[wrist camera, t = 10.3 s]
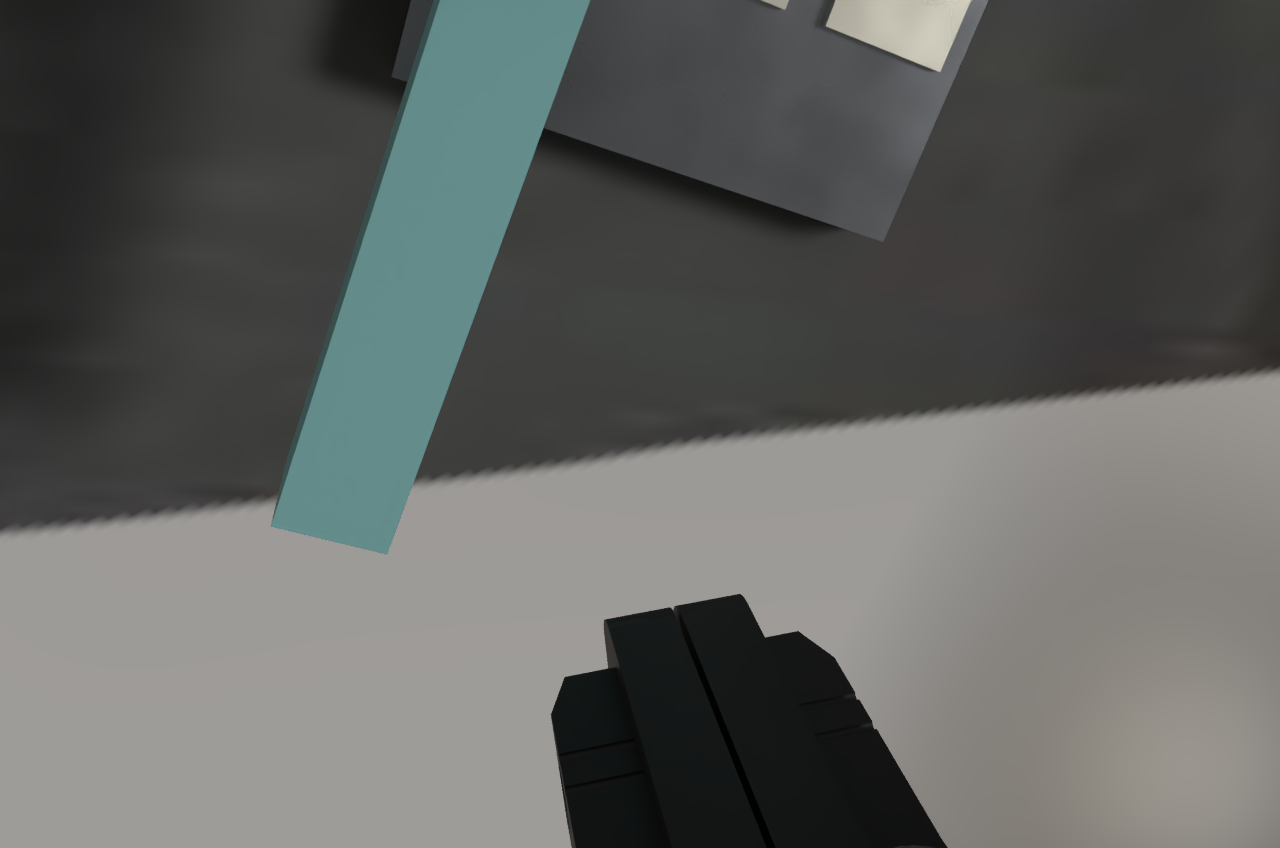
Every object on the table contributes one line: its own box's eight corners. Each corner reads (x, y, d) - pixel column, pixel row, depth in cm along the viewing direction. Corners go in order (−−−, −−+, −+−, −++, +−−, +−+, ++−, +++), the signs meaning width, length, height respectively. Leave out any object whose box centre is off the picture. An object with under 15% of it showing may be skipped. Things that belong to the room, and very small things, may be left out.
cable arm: (747, -319, 16) (895, -434, 11) (438, 501, 21) (447, 671, 16) (504, -462, 15) (550, -663, 10) (232, 447, 20) (172, 614, 15)
